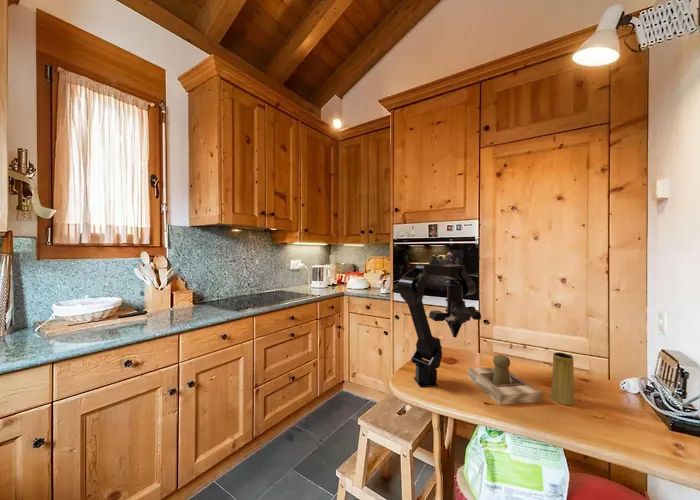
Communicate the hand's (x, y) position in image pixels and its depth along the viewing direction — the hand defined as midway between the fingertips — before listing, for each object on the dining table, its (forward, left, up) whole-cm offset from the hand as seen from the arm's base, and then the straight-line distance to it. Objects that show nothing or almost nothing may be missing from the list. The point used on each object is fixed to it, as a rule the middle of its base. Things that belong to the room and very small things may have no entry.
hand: (454, 337), depth 114 cm
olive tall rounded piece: (+9, -16, -13) cm, 22 cm away
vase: (+23, -25, -13) cm, 37 cm away
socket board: (+9, -16, -13) cm, 22 cm away
